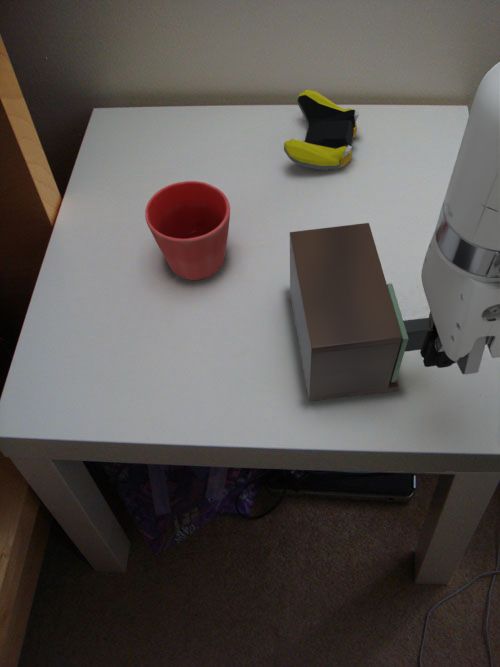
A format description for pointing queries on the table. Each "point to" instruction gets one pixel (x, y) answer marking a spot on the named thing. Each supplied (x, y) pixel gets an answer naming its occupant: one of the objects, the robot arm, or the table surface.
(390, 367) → the cupboard
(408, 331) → the sliding door
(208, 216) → the flower pot
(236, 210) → the table surface
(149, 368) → the table surface
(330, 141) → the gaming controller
